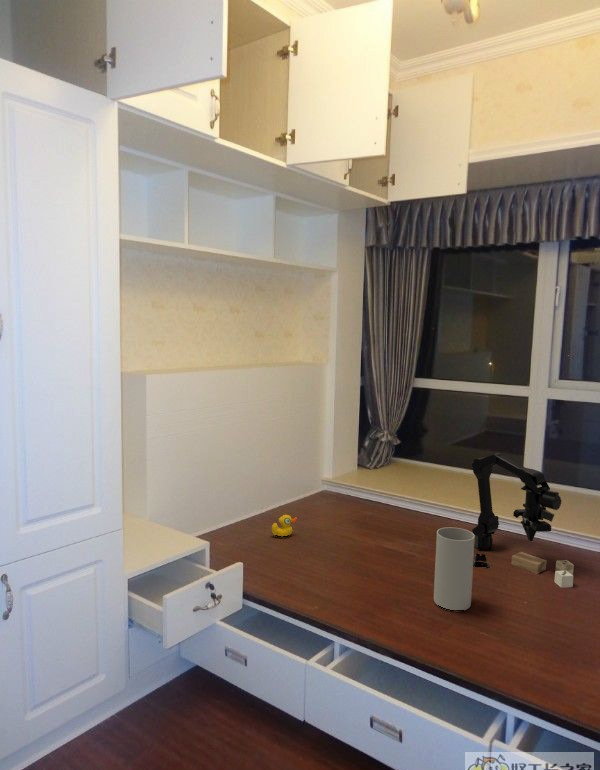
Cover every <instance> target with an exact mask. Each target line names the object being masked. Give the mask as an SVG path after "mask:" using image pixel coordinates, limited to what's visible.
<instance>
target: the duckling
mask: <svg viewBox="0 0 600 770" xmlns="http://www.w3.org/2000/svg"><path fill="white" fill-rule="evenodd" d="M297 518H298V517H296V516H295V517H294V518H292V517H291V515H289V514H284V515H282V516H281V517H279V518H278V522H279V523H280V525H281V527H279V526H278V525H279V524H278V523H277V522H273V524H272V525H271V532H272V534H273V536H275V535H278V536H287V535H289V536H291V534H292V533H293V527H292V526H291V524H295V523H296V522H297Z"/></svg>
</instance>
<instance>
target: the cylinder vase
mask: <svg viewBox="0 0 600 770" xmlns="http://www.w3.org/2000/svg"><path fill="white" fill-rule="evenodd" d="M474 544H475V535H474V534H473V532H472V531H470V530H468V529H465V528H460V527H448V526H447V527H441V528H439V529H437V531H436V543H435V562H434V563H435V564H434V565H435V566H434V586H433V601H434V603H435V604H436V605H437V606H438V605H439V606H441V607H443V608H446V609H450V610H464V611H467V610H468V609H469V608H470V607H471V605H472V604H471V603H472V587H473V571H474V567H473V561H474V557H475V556H474V554H475V547H474ZM439 606H438V607H439ZM441 607H440V608H441ZM443 608H442V609H443ZM446 609H445V610H446ZM450 610H449V611H450Z"/></svg>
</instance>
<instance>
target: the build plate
mask: <svg viewBox="0 0 600 770" xmlns="http://www.w3.org/2000/svg"><path fill="white" fill-rule="evenodd" d="M473 560H474V562H473V566H475V567H474V568H479V567H486V568H485V569H488V568H490V565H489V562H487V561H488V560H487V557H486V554H485V553H475V556H474V557H473Z"/></svg>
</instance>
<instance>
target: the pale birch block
mask: <svg viewBox="0 0 600 770" xmlns="http://www.w3.org/2000/svg"><path fill="white" fill-rule="evenodd" d="M555 562H556V563H555V571H568V572H569V573H570V574H572V575H573V576H574V567H575V564H573V563H572V562H570V561H569V560H567V559H564V560H556V561H555Z"/></svg>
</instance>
